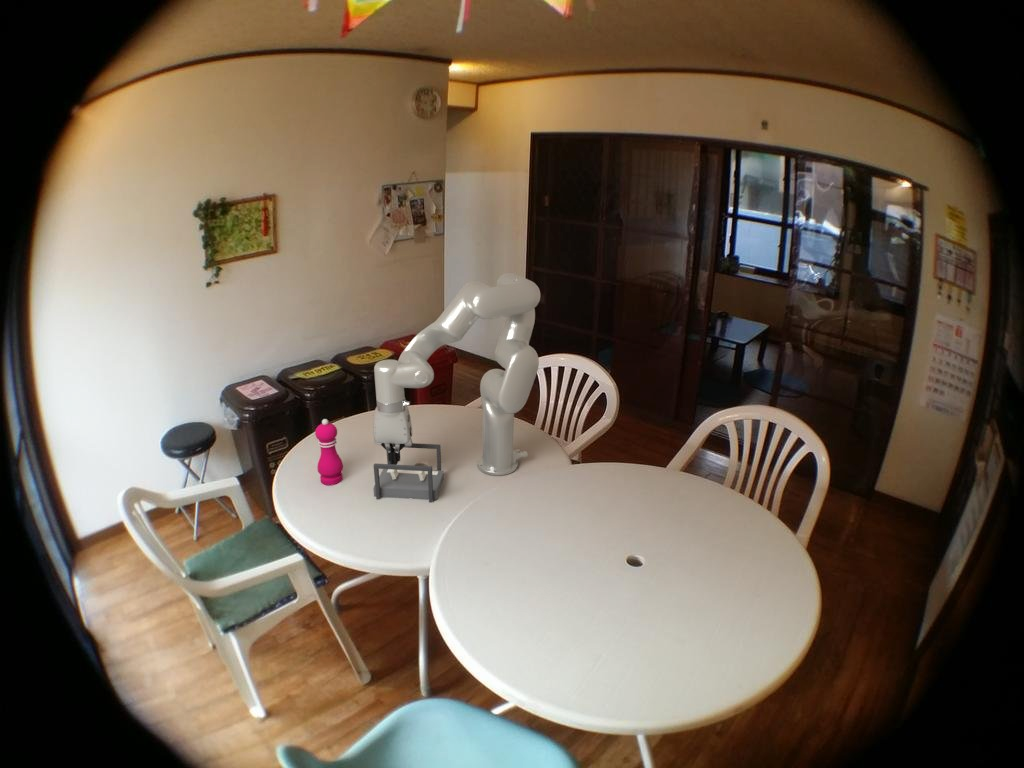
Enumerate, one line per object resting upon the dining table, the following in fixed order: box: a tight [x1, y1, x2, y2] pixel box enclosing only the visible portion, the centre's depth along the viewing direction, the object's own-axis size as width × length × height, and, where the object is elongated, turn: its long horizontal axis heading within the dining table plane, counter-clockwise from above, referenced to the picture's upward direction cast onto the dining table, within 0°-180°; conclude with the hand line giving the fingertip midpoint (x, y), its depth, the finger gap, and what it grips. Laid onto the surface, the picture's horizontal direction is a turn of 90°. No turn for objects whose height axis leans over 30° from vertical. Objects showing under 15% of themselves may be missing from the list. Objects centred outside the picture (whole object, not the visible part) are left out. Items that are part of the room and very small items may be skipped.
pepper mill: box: [314, 418, 344, 486], centre depth 164 cm, size 7×7×20 cm
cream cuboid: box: [418, 471, 426, 481], centre depth 163 cm, size 1×3×2 cm, turn 174°
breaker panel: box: [372, 469, 445, 501], centre depth 165 cm, size 18×11×3 cm, turn 86°
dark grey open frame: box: [373, 443, 442, 503], centre depth 163 cm, size 16×14×11 cm
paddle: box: [390, 469, 398, 479], centre depth 164 cm, size 1×3×2 cm, turn 174°
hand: (394, 462), depth 162 cm, fingers closed
